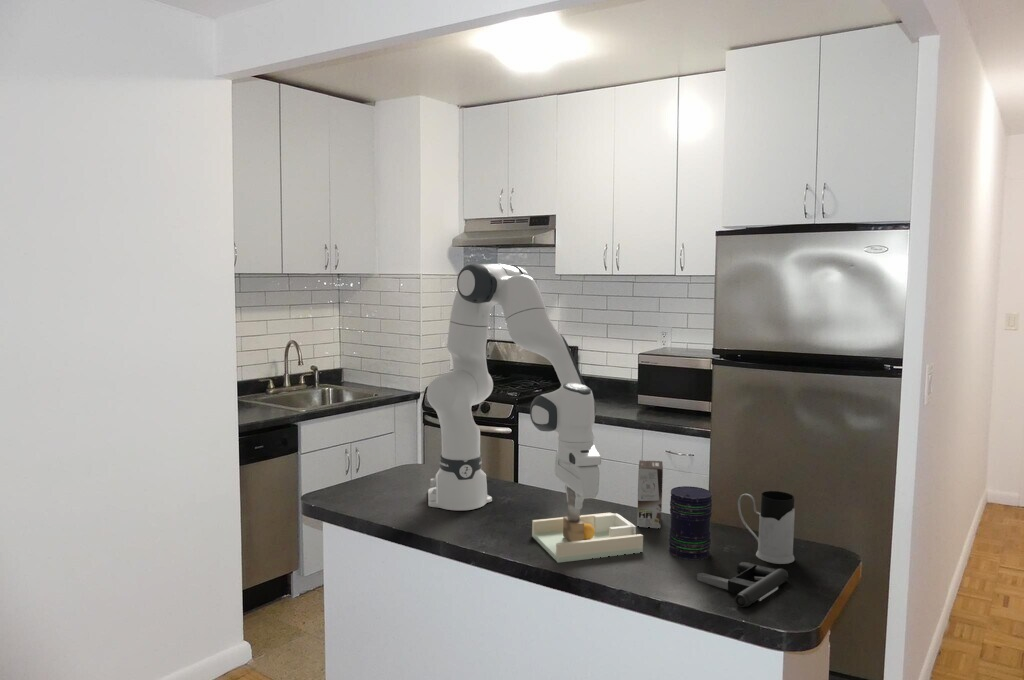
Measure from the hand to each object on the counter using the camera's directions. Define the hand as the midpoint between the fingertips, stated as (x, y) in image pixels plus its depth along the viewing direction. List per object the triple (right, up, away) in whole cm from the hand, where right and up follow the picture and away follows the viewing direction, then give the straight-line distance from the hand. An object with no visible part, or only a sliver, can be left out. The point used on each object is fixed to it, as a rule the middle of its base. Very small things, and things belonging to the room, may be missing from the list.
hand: (574, 505), depth 184 cm
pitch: (+3, -10, +2) cm, 11 cm away
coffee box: (+22, -9, +19) cm, 30 cm away
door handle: (+34, -13, -21) cm, 42 cm away
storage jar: (+28, -11, -3) cm, 30 cm away
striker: (0, -9, +1) cm, 9 cm away
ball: (+3, -7, +2) cm, 8 cm away
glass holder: (+46, -11, -3) cm, 47 cm away
